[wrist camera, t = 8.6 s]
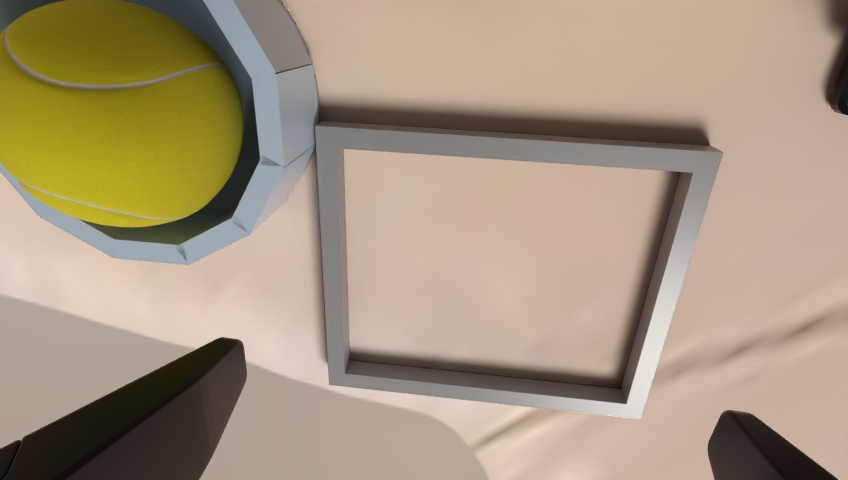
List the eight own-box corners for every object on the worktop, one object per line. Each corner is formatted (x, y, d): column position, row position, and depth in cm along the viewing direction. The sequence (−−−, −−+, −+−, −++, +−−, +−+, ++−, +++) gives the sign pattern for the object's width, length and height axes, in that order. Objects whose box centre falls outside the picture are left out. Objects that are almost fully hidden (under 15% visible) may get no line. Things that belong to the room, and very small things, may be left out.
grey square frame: (711, 145, 18) (723, 152, 17) (634, 403, 23) (640, 419, 22) (322, 120, 19) (314, 125, 18) (334, 371, 24) (329, 384, 23)
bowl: (311, -63, 16) (263, -86, 13) (326, 230, 21) (293, 274, 17) (15, -72, 17) (-108, -97, 14) (91, 211, 22) (14, 249, 18)
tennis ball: (101, -25, 17) (-120, -51, 11) (288, 38, 17) (177, 49, 11) (101, 156, 20) (-73, 218, 14) (260, 208, 20) (160, 293, 14)
